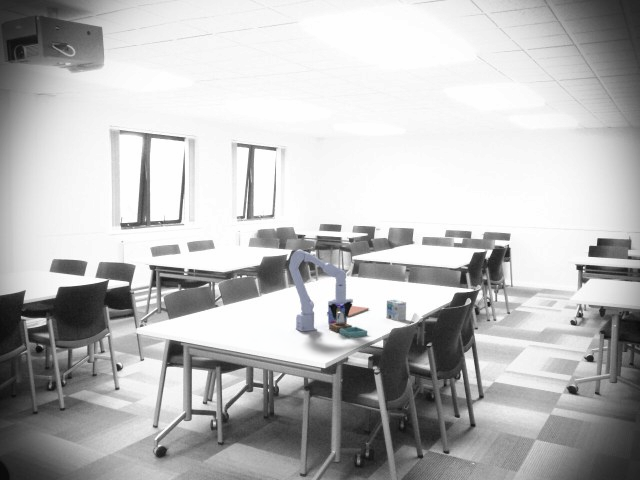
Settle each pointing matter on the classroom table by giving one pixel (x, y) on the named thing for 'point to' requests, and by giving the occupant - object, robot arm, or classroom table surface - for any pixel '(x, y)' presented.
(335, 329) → the hitch block
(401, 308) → the light bulb box
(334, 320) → the ink cartridge box
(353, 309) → the notebook
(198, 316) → the classroom table surface
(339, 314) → the steel pin
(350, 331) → the tray
